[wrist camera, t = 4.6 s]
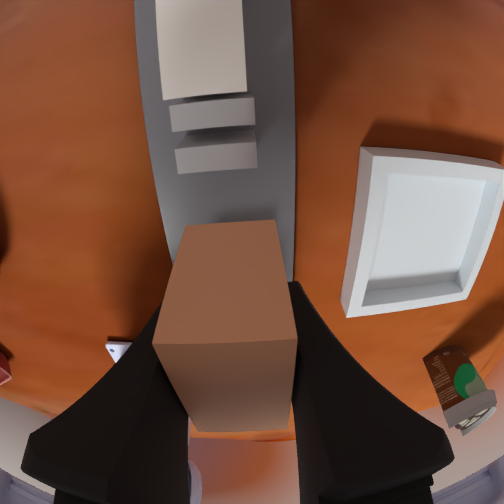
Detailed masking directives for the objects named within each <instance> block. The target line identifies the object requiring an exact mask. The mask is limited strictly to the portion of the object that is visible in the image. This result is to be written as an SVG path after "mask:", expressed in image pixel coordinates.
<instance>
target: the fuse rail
mask: <svg viewBox="0 0 504 504" xmlns="http://www.w3.org/2000/svg"><path fill="white" fill-rule="evenodd" d="M134 10H135V30H136V45H137V57H138V68H139V78H140V87H141V96H142V104H143V112H144V119H145V126H146V133H147V140H148V146H149V152H150V158H151V164H152V170H153V175H154V181H155V186H156V191H157V196H158V201H159V206H160V211H161V216H162V221H163V225H164V230H165V234H166V239H167V243H168V248H169V252H170V256H171V260H172V264H173V265H174V261H175V258H176V255H177V251H178V248H179V245H180V242H181V239H182V236H183V232H184V229H185V226H186V225H199V224H212V223H227V222H242V221H258V220H275V222H276V227H277V232H278V237H279V242H280V247H281V252H282V257H283V262H284V267H285V272H286V278H287V282H291V281H292V280H293V255H294V222H295V86H294V56H293V33H292V15H291V0H242V13H243V30H244V47H245V65H246V82H247V91H246V92H231V93H219V94H208V95H199V96H191V97H183V98H176V99H169V100H163V95H162V86H161V75H160V65H159V53H158V39H157V24H156V3H155V0H134Z"/></svg>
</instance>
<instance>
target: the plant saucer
mask: <svg viewBox="0 0 504 504" xmlns="http://www.w3.org/2000/svg"><path fill="white" fill-rule="evenodd" d="M11 378H12V375H11V370H10V366H9V363H8V360H7V358H6V356H5V355H4V354H2V353H1V352H0V385H2V384H3V383H5V382H7V381H9V380H10V379H11Z"/></svg>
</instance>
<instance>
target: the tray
mask: <svg viewBox="0 0 504 504" xmlns="http://www.w3.org/2000/svg"><path fill="white" fill-rule="evenodd" d="M503 200H504V167H503V166H502V165H500V164H498V163H496V162H495V161H491V160H485V159H480V158H474V157H467V156H460V155H453V154H446V153H438V152H429V151H420V150H409V149H397V148H383V147H365V146H360V153H359V166H358V177H357V188H356V197H355V206H354V214H353V222H352V229H351V237H350V244H349V250H348V257H347V263H346V269H345V275H344V280H343V286H342V291H341V297H340V301H341V304H342V307H343V310H344V312H345V315H346V318H349V317H357V316H365V315H373V314H381V313H388V312H395V311H402V310H408V309H415V308H421V307H427V306H432V305H438V304H444V303H449V302H454V301H460V300H465V299H467V297H468V295H469V292H470V290H471V288H472V286H473V284H474V281H475V279H476V277H477V275H478V272H479V270H480V267H481V265H482V262H483V260H484V257H485V255H486V252H487V249H488V247H489V244H490V241H491V238H492V236H493V233H494V230H495V227H496V224H497V220H498V217H499V214H500V210H501V207H502V203H503Z"/></svg>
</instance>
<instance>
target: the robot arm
mask: <svg viewBox="0 0 504 504" xmlns="http://www.w3.org/2000/svg"><path fill="white" fill-rule="evenodd" d="M287 283H288V288H289V294H290V299H291V304H292V310H293V315H294V321H295V326H296V332H297V338H298V340H297V351H296V361H295V370H294V380H293V389H292V397H291V401H292V406H293V413H294V422H295V432H296V443H297V456H298V471H299V488H300V504H504V455H503V456H502V457H500V458H498V459H497V460H495V461H494V462H492V463H490V464H489V465H487V466H486V467H484V468H482V469H480V470H479V471H477V472H475V473H473V474H472V475H470V476H468V477H466V478H465V479H463V480H461V481H459V482H457V483H455V484H453V485H451V486H448V487H447V488H444V489H442V490H440V491H437V492H435V493H433V494H431V490H430V486H432V485H433V483H434V482H433V478H432V474H434V473H436V472H437V471H439V470H441V469H442V468H444V467H446V466H447V465H449V464H450V463H451V462H452V461H453V460H454V458H455V457H454V454H453V451H452V448H451V445H450V442H449V440H448V438H447V435H446V434H445V431H444V430H443V429H442V428H440V427H439V426H437V425H435V424H434V423H432V422H430V421H429V420H427V419H426V418H424V417H423V416H421V415H420V414H418V413H417V412H415V411H414V410H412V409H411V408H410V407H408V406H407V405H406V404H404V403H403V402H402V401H400V400H399V399H398V398H397V397H395V396H394V395H393V394H392V393H391V392H389V391H388V390H387V389H386V388H385V387H383V386H382V385H381V384H380V383H379V382H377V381H376V380H375V379H374V378H373V377H372V376H371V375H370V374H369V373H368V372H367V371H366V370H365V369H364V368H363V367H362V366H361V365H360V364H359V363H358V362H357V361H356V360H355V359H354V358H353V357H352V356H351V354H350V353H349V352H348V351H347V350H346V349H345V348H344V346H343V345H342V344H341V343H340V342H339V340H338V339H337V338H336V337H335V335H334V334H333V333H332V332H331V330H330V329H329V328H328V326H327V325H326V324H325V322H324V321H323V319H322V318H321V317H320V315H319V314H318V312H317V311H316V309H315V308H314V306H313V305H312V303H311V302H310V300H309V299H308V297H307V295H306V294H305V292H304V290H303V288H302V286H301V284H300V283H299V282H298V281H291V282H287ZM162 303H163V301H162V302H161V304H160V305H159V307H158V308H157V309H156V311H155V312H154V314H153V315H152V317H151V318H150V320H149V321H148V322H147V324H146V325H145V326H144V328H143V329H142V331H141V332H140V333H139V335H138V336H137V337H136V339H135V340H134V341H133V342H114V341H108V342H107V343H106V348H107V349H108V351H109V353H110V354H111V356H112V358H113V359H114V361H115V362H116V363H115V364H114V365H113V367H112V368H111V369H110V370H109V371H108V372H107V373H106V374H105V375H104V376H103V377H102V378H101V379H100V380H99V381H98V382H97V383H96V384H95V385H94V386H93V387H92V388H91V389H90V390H89V391H88V392H87V393H86V394H84V395H83V396H82V397H81V398H80V399H79V400H78V401H76V402H75V403H74V404H73V405H71V406H70V407H69V408H68V409H66V410H65V411H64V412H62V413H61V414H60V415H58V416H57V417H56V418H54V419H53V420H51V421H50V422H48V423H47V424H45V425H44V426H42V427H40V428H39V429H37V430H36V431H34V432H33V433H31V434H30V436H29V439H28V442H27V446H26V449H25V453H24V456H23V460H22V464H21V470H22V471H23V472H24V473H26V474H27V475H29V476H31V477H33V478H35V479H37V480H38V481H40V482H42V483H44V484H47V485H48V486H51V487H53V488H55V489H56V490H55V496H54V495H51V494H49V493H47V492H44V491H42V490H40V489H38V488H36V487H34V486H32V485H30V484H28V483H26V482H24V481H22V480H20V479H18V478H16V477H14V476H12V475H11V474H9V473H8V472H6V471H4V470H2V469H1V468H0V504H200V502H201V496H202V481H201V475H200V472H199V470H198V468H197V467H196V465H195V464H194V462H193V461H191V460H188V444H189V440H190V429H191V418H190V417H189V415H188V413H187V411H186V410H185V408H184V406H183V404H182V402H181V401H180V399H179V397H178V395H177V393H176V391H175V389H174V387H173V386H172V384H171V382H170V380H169V378H168V376H167V374H166V372H165V370H164V368H163V366H162V364H161V362H160V360H159V358H158V355H157V353H156V351H155V349H154V347H153V345H152V341H153V337H154V333H155V329H156V326H157V322H158V318H159V314H160V310H161V307H162Z"/></svg>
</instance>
